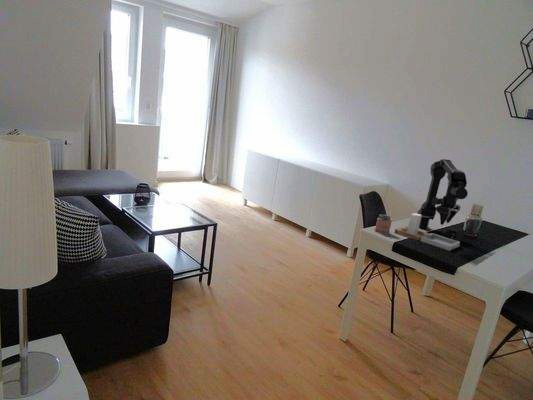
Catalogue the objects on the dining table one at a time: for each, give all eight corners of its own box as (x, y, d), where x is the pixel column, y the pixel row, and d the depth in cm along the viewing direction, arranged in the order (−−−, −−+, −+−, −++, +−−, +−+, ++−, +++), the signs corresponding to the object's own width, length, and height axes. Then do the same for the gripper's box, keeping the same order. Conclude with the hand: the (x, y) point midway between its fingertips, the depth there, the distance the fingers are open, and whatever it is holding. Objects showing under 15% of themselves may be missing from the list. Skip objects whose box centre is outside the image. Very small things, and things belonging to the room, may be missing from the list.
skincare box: (409, 232, 212) (414, 212, 210) (417, 235, 210) (422, 214, 207) (405, 234, 208) (410, 213, 205) (413, 237, 205) (418, 216, 202)
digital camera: (452, 238, 214) (455, 226, 213) (461, 241, 210) (465, 229, 209) (444, 240, 207) (447, 228, 206) (453, 243, 203) (457, 231, 202)
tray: (431, 237, 208) (432, 233, 208) (458, 246, 198) (460, 242, 198) (420, 241, 198) (421, 236, 197) (449, 251, 188) (450, 246, 187)
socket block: (405, 229, 218) (406, 226, 218) (428, 237, 209) (429, 233, 208) (394, 232, 208) (395, 229, 208) (418, 240, 199) (419, 237, 198)
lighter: (388, 232, 207) (392, 215, 205) (389, 234, 204) (393, 216, 202) (374, 230, 208) (377, 213, 206) (375, 231, 205) (378, 214, 202)
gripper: (442, 190, 204) (435, 217, 208) (429, 192, 191) (422, 221, 194) (464, 195, 197) (456, 223, 200) (451, 197, 183) (444, 227, 187)
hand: (444, 223), depth 196 cm, fingers open, 8 cm apart
